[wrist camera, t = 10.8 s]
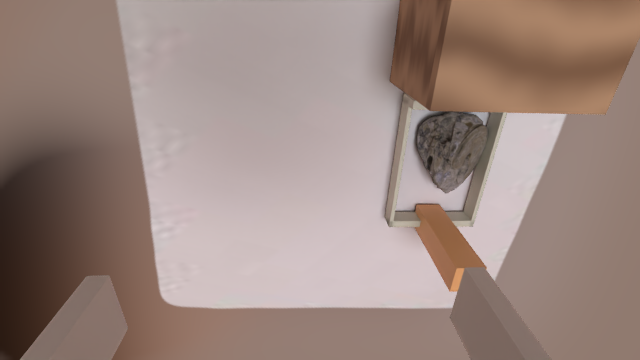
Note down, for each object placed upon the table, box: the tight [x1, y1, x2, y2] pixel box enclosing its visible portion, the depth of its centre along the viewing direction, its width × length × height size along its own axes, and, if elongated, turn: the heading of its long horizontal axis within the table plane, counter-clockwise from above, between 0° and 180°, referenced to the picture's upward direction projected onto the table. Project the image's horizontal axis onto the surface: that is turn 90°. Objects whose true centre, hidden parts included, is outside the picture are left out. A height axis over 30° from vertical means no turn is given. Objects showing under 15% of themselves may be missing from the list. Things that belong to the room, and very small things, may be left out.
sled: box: [385, 93, 507, 291], centre depth 39 cm, size 20×12×14 cm, turn 178°
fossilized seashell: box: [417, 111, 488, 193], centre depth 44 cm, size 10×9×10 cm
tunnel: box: [390, 0, 640, 114], centre depth 33 cm, size 9×16×14 cm, turn 88°
